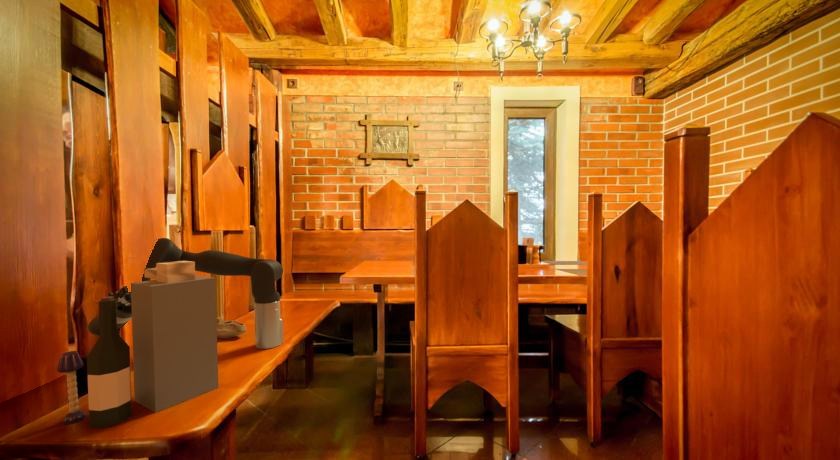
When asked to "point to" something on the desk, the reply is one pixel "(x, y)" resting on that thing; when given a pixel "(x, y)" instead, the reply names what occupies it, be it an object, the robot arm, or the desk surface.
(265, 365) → the desk surface
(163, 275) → the mallet
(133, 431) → the desk surface
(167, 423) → the desk surface
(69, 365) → the toy lamp
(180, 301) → the stand
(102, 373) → the wine bottle
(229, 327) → the oil lamp
